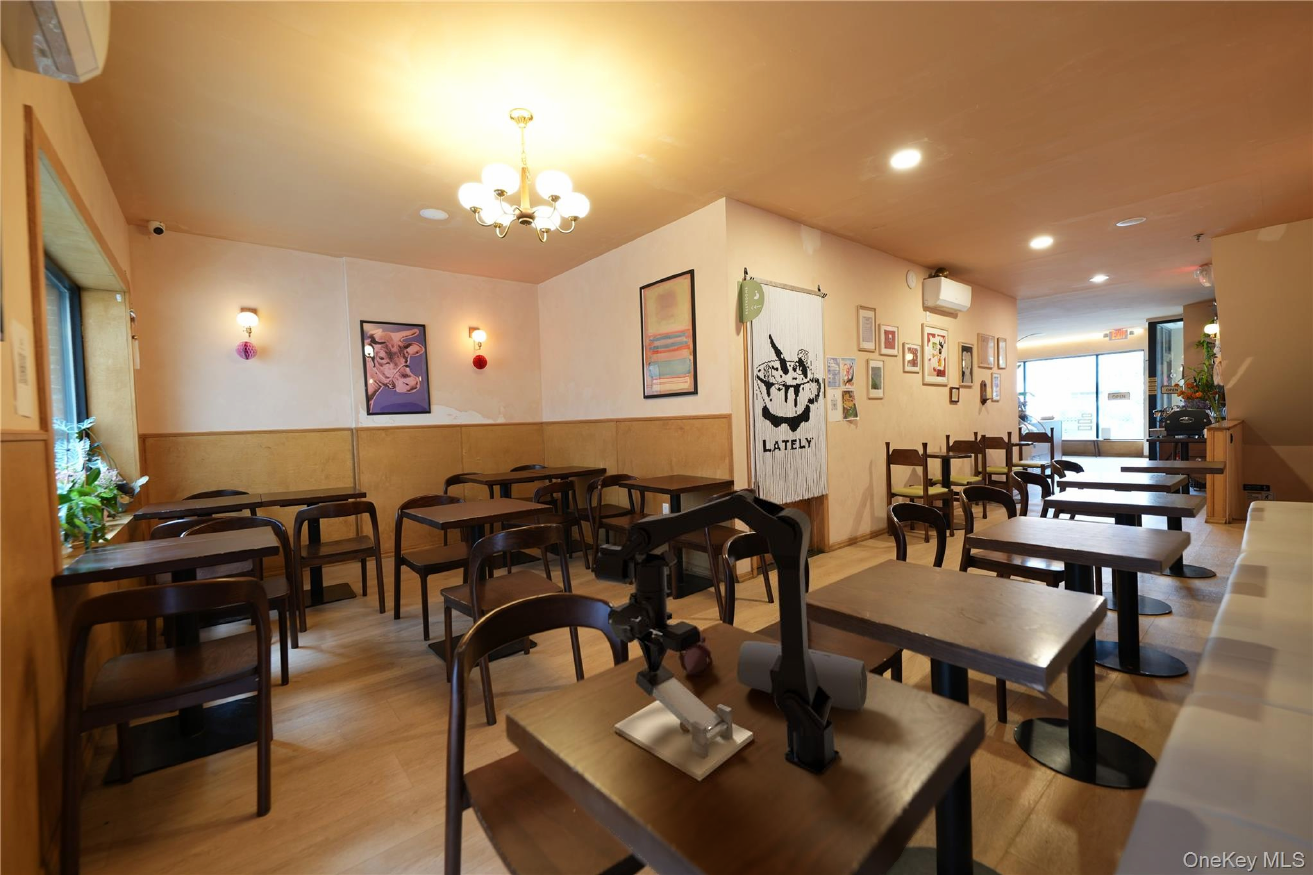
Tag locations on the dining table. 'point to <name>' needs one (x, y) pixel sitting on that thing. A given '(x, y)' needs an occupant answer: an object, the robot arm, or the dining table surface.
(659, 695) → the lever
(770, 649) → the bluetooth speaker
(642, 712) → the nutcracker board
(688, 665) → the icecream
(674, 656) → the dining table surface
